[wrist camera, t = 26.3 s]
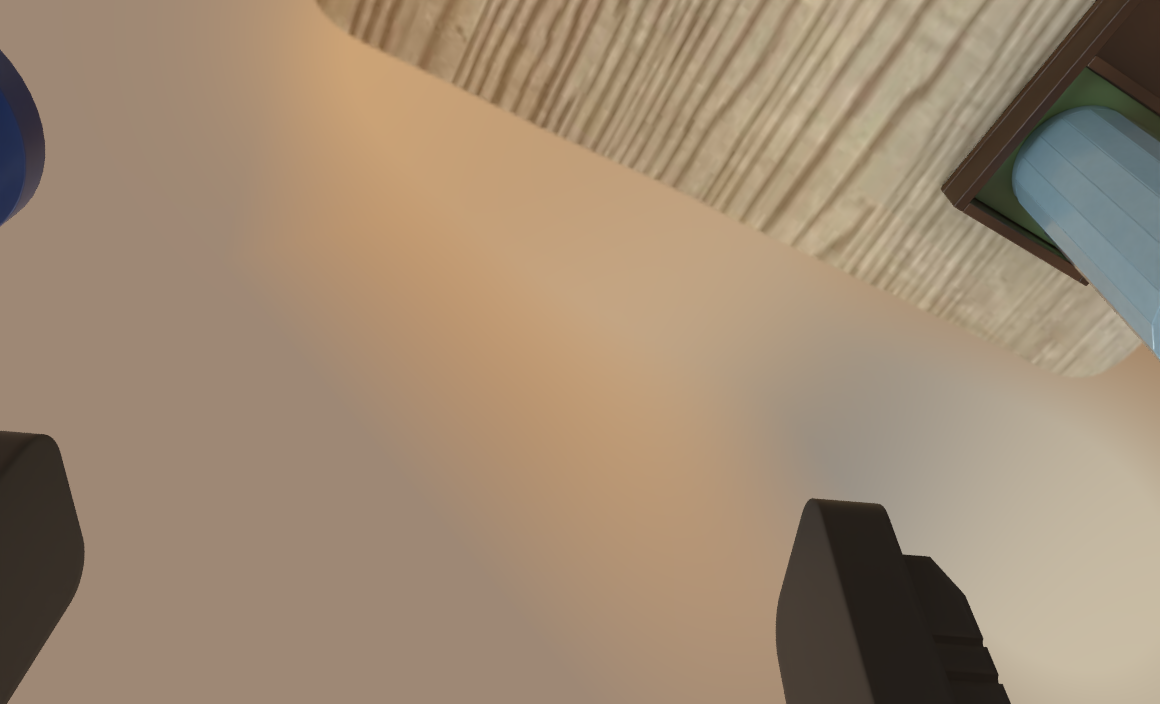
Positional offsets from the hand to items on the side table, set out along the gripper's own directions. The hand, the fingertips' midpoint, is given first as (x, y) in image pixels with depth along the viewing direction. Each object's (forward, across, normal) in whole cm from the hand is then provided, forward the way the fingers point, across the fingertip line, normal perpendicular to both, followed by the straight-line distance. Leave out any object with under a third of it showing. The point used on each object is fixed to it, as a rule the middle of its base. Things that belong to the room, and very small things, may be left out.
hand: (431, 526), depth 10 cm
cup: (+32, -23, +6) cm, 40 cm away
